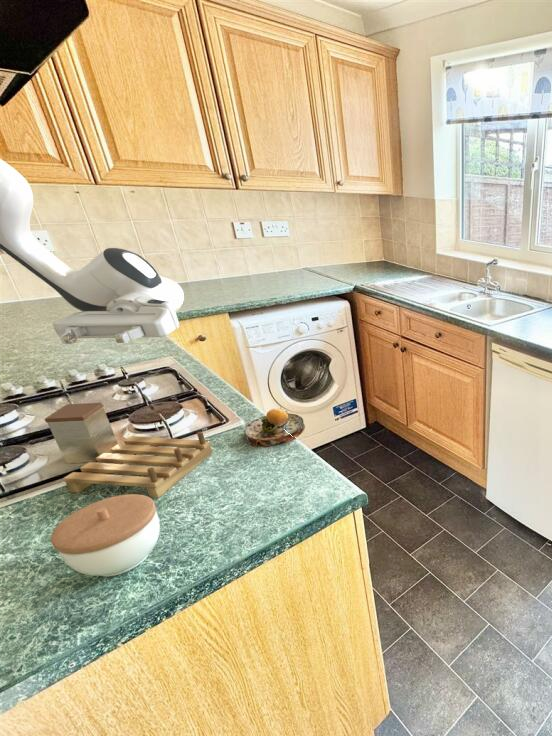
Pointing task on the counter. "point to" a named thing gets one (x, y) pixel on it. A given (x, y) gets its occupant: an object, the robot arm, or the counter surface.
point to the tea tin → (82, 432)
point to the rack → (135, 445)
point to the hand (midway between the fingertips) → (92, 340)
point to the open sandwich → (274, 428)
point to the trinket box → (108, 535)
